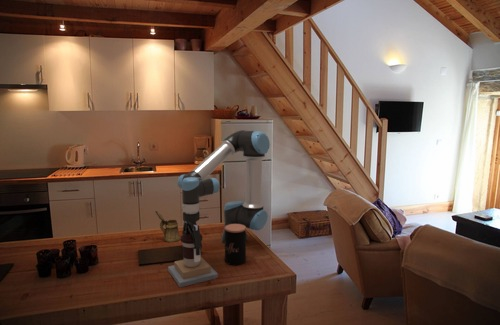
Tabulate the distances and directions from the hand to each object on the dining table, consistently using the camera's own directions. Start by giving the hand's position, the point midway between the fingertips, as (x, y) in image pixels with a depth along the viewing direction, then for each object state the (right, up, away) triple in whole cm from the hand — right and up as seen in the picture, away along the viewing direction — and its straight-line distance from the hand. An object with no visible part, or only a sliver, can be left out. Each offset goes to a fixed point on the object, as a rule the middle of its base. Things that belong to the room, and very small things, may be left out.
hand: (192, 255), depth 161 cm
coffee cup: (0, -4, +1) cm, 4 cm away
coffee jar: (+19, -7, +16) cm, 26 cm away
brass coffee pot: (-21, -2, +43) cm, 48 cm away
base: (0, -9, +1) cm, 9 cm away
